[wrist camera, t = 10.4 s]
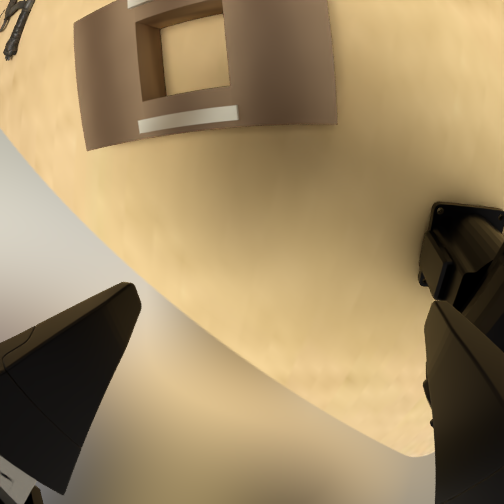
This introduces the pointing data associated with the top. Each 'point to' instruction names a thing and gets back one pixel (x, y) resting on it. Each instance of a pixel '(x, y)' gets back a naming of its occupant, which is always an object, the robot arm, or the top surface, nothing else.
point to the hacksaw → (15, 36)
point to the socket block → (207, 100)
